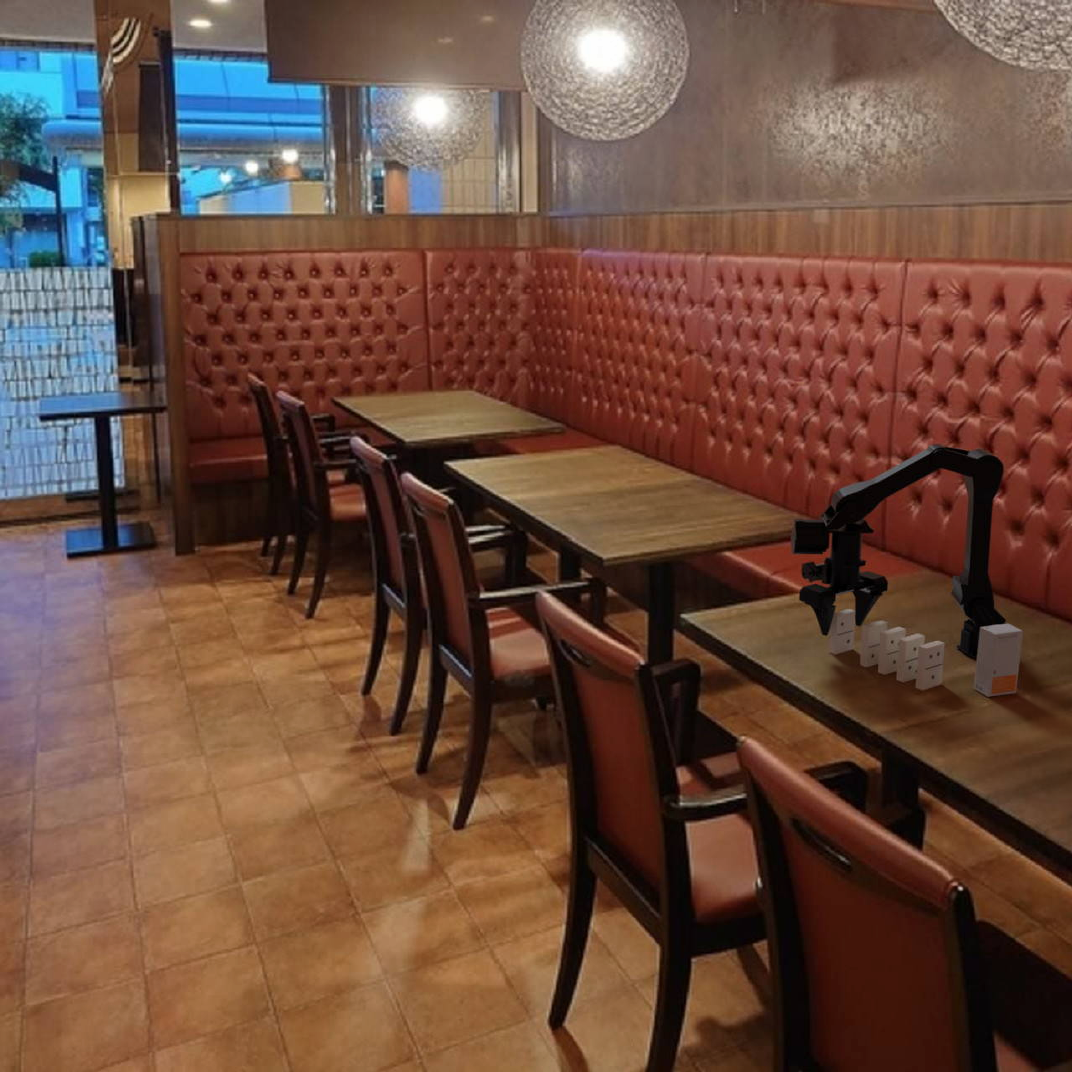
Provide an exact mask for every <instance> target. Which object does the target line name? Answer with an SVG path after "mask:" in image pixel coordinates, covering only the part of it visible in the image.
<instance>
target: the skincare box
mask: <svg viewBox="0 0 1072 1072" xmlns="http://www.w3.org/2000/svg"><path fill="white" fill-rule="evenodd" d="M1023 636H1024V631H1023V630H1022V629H1020V628H1018V627H1016V626H1014V625H1012V624H1010V623H1005V624H1001V625H991V626H986V627H980V634H979V643H978V653H977V659H976V665H975V673H974V683H973V688H974V690H976V691H977V692H979V693H980V694H982V695H984V696H986V697H988V698H989V697H997V696H1003V695H1011V694H1016V693H1017V687H1018V677H1019V671H1020V670H1019V668H1020V663H1021V661H1020V660H1021V653H1022V643H1023Z"/></svg>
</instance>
